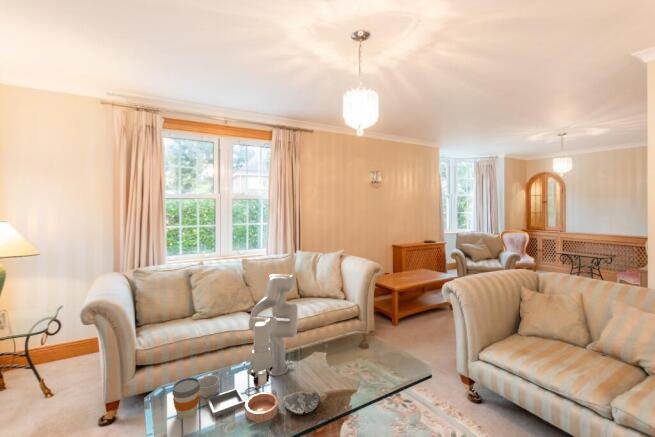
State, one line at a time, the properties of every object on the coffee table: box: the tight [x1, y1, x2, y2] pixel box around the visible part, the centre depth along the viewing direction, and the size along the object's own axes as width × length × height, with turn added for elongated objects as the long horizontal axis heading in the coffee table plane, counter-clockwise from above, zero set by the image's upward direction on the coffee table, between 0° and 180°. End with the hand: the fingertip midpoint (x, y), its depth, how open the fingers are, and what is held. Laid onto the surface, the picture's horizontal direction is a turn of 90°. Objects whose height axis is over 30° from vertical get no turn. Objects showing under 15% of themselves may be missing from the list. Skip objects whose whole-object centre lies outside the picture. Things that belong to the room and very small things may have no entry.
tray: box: [206, 387, 246, 418], centre depth 166 cm, size 16×13×3 cm
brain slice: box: [282, 390, 321, 415], centre depth 166 cm, size 20×17×3 cm
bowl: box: [244, 392, 279, 423], centre depth 162 cm, size 16×16×4 cm
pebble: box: [257, 370, 268, 387], centre depth 160 cm, size 5×5×5 cm
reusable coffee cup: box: [171, 377, 200, 420], centre depth 159 cm, size 13×13×15 cm
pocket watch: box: [244, 379, 262, 396], centre depth 177 cm, size 8×8×10 cm
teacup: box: [199, 374, 220, 399], centre depth 175 cm, size 14×11×8 cm
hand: (261, 381), depth 161 cm, fingers closed on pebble, 4 cm apart
